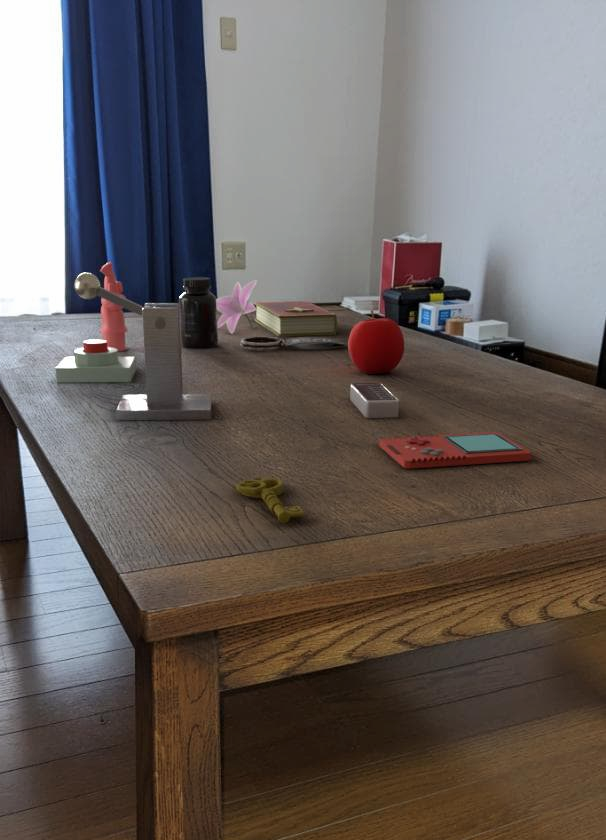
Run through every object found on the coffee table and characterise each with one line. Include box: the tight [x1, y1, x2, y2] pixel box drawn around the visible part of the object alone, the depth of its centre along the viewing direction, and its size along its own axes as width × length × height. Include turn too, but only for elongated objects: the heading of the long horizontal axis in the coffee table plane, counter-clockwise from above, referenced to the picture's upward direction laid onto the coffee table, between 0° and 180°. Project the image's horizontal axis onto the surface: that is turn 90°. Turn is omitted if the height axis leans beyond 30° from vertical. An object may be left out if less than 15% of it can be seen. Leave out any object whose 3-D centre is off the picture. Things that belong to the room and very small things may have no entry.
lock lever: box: [73, 272, 158, 317], centre depth 114 cm, size 13×3×3 cm, turn 94°
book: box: [253, 300, 338, 338], centre depth 186 cm, size 12×21×4 cm, turn 16°
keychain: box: [239, 336, 347, 352], centre depth 164 cm, size 8×19×2 cm, turn 99°
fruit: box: [347, 309, 405, 375], centre depth 143 cm, size 9×9×10 cm
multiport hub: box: [349, 382, 400, 419], centre depth 122 cm, size 4×11×2 cm, turn 9°
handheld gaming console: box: [379, 431, 532, 469], centre depth 103 cm, size 9×1×15 cm
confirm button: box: [82, 339, 108, 353], centre depth 138 cm, size 4×4×2 cm
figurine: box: [99, 261, 129, 352], centre depth 158 cm, size 5×5×15 cm
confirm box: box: [55, 347, 137, 383], centre depth 139 cm, size 11×9×4 cm
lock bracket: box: [115, 302, 213, 421], centre depth 117 cm, size 12×9×14 cm
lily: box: [216, 279, 259, 335], centre depth 182 cm, size 12×12×10 cm
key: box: [235, 477, 305, 524], centre depth 86 cm, size 12×1×5 cm
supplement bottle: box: [178, 276, 219, 349], centre depth 164 cm, size 7×7×12 cm
